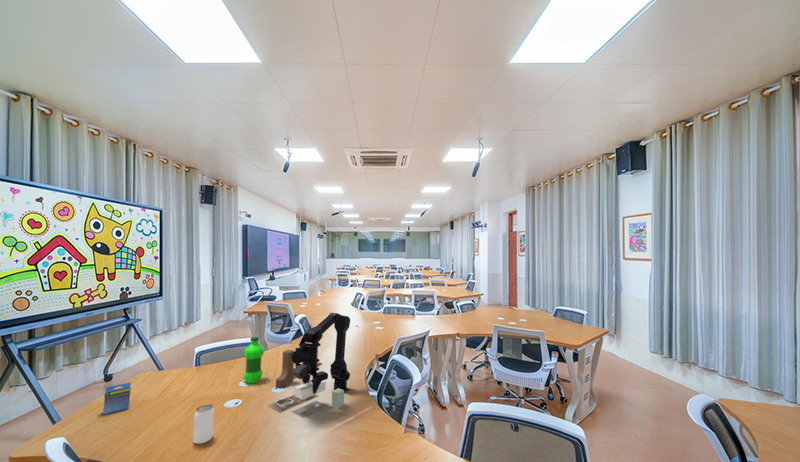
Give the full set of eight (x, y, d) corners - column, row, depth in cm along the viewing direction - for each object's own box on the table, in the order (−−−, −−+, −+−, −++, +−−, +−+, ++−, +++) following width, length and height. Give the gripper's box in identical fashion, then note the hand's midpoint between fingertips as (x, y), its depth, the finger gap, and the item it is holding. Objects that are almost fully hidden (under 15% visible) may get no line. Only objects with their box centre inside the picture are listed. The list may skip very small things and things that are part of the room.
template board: (316, 402, 152) (316, 396, 153) (328, 408, 147) (328, 401, 147) (291, 413, 141) (291, 407, 142) (302, 420, 136) (303, 413, 136)
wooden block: (281, 388, 168) (282, 354, 170) (275, 387, 170) (276, 353, 172) (293, 382, 177) (294, 350, 178) (287, 381, 178) (288, 349, 180)
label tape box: (128, 405, 148) (130, 379, 149) (129, 408, 145) (131, 381, 146) (103, 412, 142) (105, 384, 143) (103, 415, 139) (105, 387, 140)
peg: (338, 405, 150) (338, 388, 151) (343, 407, 148) (344, 390, 148) (331, 408, 147) (332, 391, 148) (337, 411, 144) (337, 393, 145)
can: (198, 435, 124) (200, 404, 125) (215, 434, 125) (217, 403, 126) (189, 444, 118) (191, 412, 119) (207, 444, 118) (208, 411, 119)
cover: (317, 386, 152) (317, 378, 152) (325, 390, 148) (325, 381, 148) (294, 396, 141) (294, 386, 142) (302, 399, 138) (302, 390, 138)
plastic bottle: (264, 382, 176) (266, 338, 178) (243, 387, 170) (246, 340, 172) (261, 377, 184) (262, 334, 186) (241, 380, 178) (243, 336, 180)
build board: (306, 392, 164) (306, 387, 164) (319, 398, 157) (319, 392, 158) (266, 407, 147) (267, 402, 147) (279, 415, 140) (279, 409, 140)
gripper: (284, 357, 145) (283, 392, 144) (308, 366, 134) (307, 403, 133) (305, 352, 154) (304, 384, 153) (329, 360, 143) (328, 394, 142)
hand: (310, 391), depth 145 cm, fingers closed on cover, 6 cm apart
